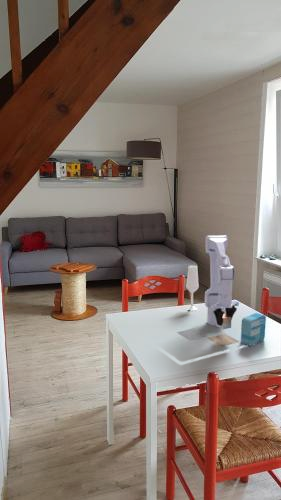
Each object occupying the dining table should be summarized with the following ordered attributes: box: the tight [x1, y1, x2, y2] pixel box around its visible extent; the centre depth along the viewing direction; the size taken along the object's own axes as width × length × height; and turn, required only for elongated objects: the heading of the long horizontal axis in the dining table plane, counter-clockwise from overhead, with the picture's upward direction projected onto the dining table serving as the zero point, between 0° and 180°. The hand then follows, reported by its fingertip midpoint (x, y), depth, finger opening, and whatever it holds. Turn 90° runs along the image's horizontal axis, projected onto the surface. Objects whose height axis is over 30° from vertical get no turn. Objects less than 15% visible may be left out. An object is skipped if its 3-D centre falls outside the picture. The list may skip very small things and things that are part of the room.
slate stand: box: [176, 327, 208, 341], centre depth 188 cm, size 10×10×1 cm
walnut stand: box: [207, 333, 241, 347], centre depth 181 cm, size 10×10×1 cm
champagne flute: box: [185, 265, 200, 311], centre depth 222 cm, size 7×7×24 cm
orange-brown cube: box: [215, 314, 233, 330], centre depth 180 cm, size 5×5×5 cm
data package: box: [240, 312, 267, 347], centre depth 181 cm, size 12×4×12 cm, turn 131°
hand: (223, 323), depth 180 cm, fingers closed on orange-brown cube, 5 cm apart
